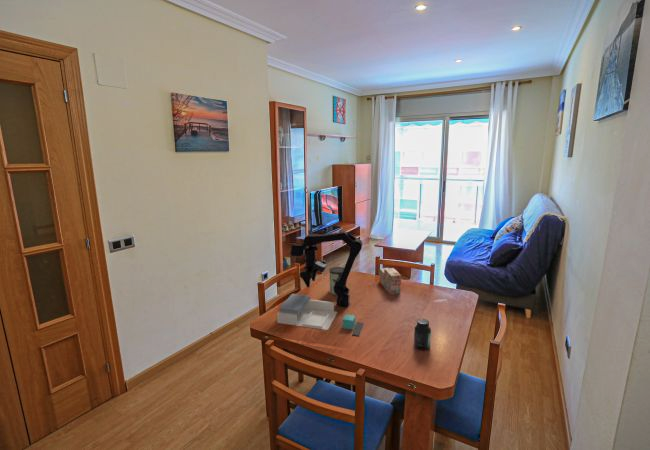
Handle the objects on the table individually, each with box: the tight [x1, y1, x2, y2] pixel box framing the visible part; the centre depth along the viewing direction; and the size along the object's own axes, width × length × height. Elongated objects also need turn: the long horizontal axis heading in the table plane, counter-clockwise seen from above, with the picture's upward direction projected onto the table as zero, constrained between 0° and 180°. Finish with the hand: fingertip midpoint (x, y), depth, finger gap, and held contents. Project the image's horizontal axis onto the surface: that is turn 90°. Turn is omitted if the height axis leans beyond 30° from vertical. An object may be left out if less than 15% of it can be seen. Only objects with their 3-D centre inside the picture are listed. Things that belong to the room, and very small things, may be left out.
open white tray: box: [276, 299, 338, 331], centre depth 171 cm, size 26×19×6 cm
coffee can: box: [328, 266, 344, 296], centre depth 204 cm, size 10×10×14 cm
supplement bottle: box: [413, 318, 432, 351], centre depth 145 cm, size 7×7×12 cm
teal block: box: [342, 314, 356, 330], centre depth 162 cm, size 5×5×5 cm
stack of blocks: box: [378, 267, 402, 296], centre depth 209 cm, size 21×6×12 cm, turn 9°
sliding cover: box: [278, 293, 311, 314], centre depth 173 cm, size 10×18×2 cm, turn 164°
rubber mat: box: [352, 321, 364, 337], centre depth 162 cm, size 12×12×1 cm
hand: (311, 284), depth 186 cm, fingers open, 9 cm apart
